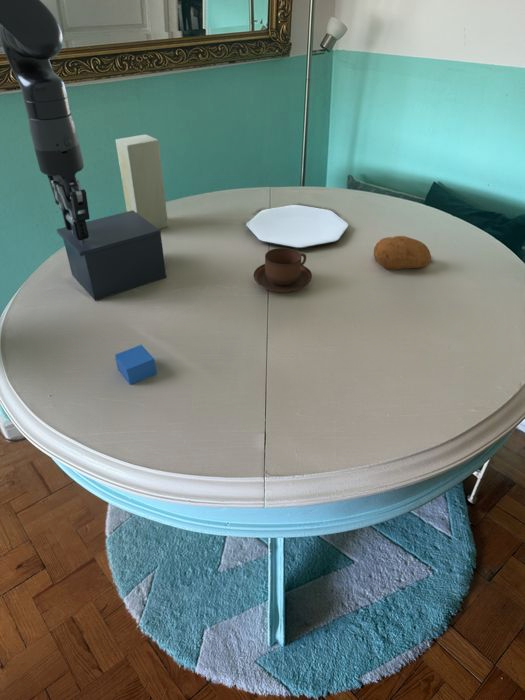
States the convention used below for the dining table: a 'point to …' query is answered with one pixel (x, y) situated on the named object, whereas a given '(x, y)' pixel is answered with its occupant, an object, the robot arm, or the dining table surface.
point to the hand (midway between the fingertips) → (77, 233)
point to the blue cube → (135, 364)
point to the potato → (401, 253)
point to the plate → (297, 226)
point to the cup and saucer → (283, 271)
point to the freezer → (118, 267)
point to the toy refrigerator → (143, 178)
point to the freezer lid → (109, 232)
